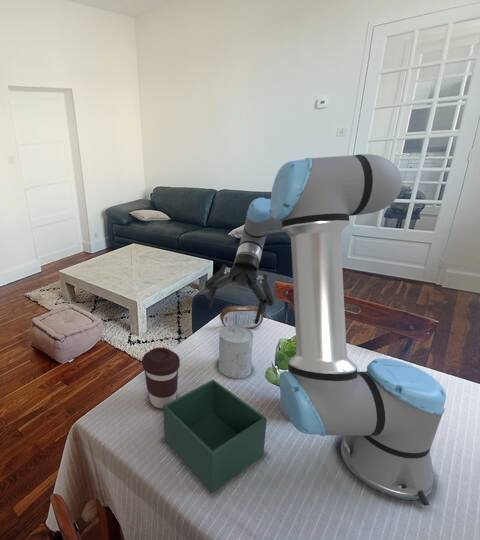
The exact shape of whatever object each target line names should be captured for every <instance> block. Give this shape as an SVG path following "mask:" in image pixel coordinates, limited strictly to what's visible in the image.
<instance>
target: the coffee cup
mask: <svg viewBox="0 0 480 540" xmlns="http://www.w3.org/2000/svg"><path fill="white" fill-rule="evenodd" d="M141 366H142V369H143V371H144V377H145V382H146V383H145V384H146V389H147V392H148V398H149V402H150V404H151V405H152V406H153V407H154V408H158V409H163V406H164V405H166V404H168V403H170V402H172V401H173V400H175V399H177V390H178V379H179V369H180V366H181V361H180V356H179V355H178V354H177V353H176V352H175V351H173V350H171V349H170V348H167V347H162V346H161V347H160V346H159V347H154V348H152V349H150V350H148V352H146V353H145V354H144V355H143V356H142V358H141Z"/></svg>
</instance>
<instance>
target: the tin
mask: <svg viewBox="0 0 480 540" xmlns="http://www.w3.org/2000/svg"><path fill="white" fill-rule="evenodd" d="M257 310H258V306H256V305H231V306H226V307H225V308H223V309H222V310H221V312H220V314H219V319H220V321H221V323H222V325H223V327H225V326H230V325H237V326H242V327H245V328H247V329H254V328H258V327H259V326H260V325H262V323H263V321H264V314H260V318H259V321H258V323H257V324H255V319H256V315H257Z"/></svg>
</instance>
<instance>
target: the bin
mask: <svg viewBox="0 0 480 540" xmlns="http://www.w3.org/2000/svg"><path fill="white" fill-rule="evenodd" d="M162 410H163V429H164V441H165V443H167V445H168V446H169V447H170V448H171V449H172V451H174V452H175V454H176V455H177V456H178V457H179V458H180V459H181V460H182V461H183V462H184V464H185V465H186V466H187V467H188V468H189V470H190V471H192V473H193V474H194V475H195V476H196V477H197V478H198V480H199V481H201V483H202V484H203V485H204V486H205V487H206V488H207V489H208V491H209V492H210V493H211V494H213V493H214V492H215V491H217V490H219V489H220V488H221V487H222V486H224V485H225V484H226V483H228V482H230V480H232V479H233V478H235V477H236V476H237V475H239V474H240V473H241V472H242V471H244V470H245V469H247V468H248V467H249V466H251V465H252V464H254V463H255V462H256V461H258V460H259V459H260V458H262V457H263V456H264V453H265V443H266V441H265V440H266V431H267V421H268V420H267V419H268V418H267V417H265V416H264V415H263V414H261V413H260V412H259V411H257V410H256V409H255V408H253V407H252V406H251V405H249V404H248V403H246V402H245V401H244V400H242V399H241V398H239V397H238V396H237V395H235V394H234V393H233V392H231V391H230V390H228V389H227V388H226V387H224V386H223V385H222V384H221V383H219V382H218V381H216V380H215V379H211V380H209V381H207V382H205V383H203V384H201V385H200V386H197V387H196V388H194V389H192V390H190V391H188V392H187V393H185V394H183V395H181V396H179V397H176V399H175V400H173V401H172V402H170V403H168V404H166V405H164V406H163V408H162Z"/></svg>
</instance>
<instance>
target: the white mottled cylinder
mask: <svg viewBox="0 0 480 540" xmlns="http://www.w3.org/2000/svg"><path fill="white" fill-rule="evenodd" d="M218 335H219V336H218V337H219V338H218V365H217V366H218V370H219V371H220V373H221V374H222V375H224V376H226V377H229V378H233V379H243V378H246V377H248V376H250V374H251V373H252V359H253V341H254V333H253V332H252V330H251V329H250V328H245V327H242V326H237V325H230V326H223V327H221V328H220V329H219V331H218Z"/></svg>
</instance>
